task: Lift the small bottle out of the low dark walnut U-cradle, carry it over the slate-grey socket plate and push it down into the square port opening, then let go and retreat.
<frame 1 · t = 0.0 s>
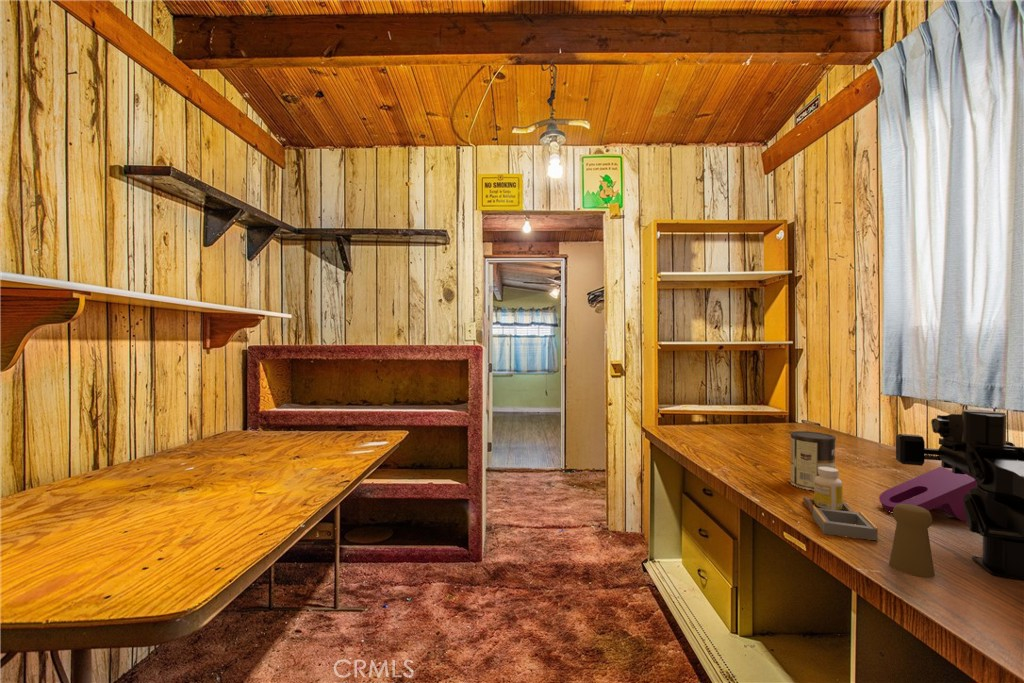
hand: (932, 444, 102), 17 cm above the table, tool horizontal, fingers open, 9 cm apart
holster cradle: (828, 510, 106), on the table
supplement bottle: (827, 511, 106), on the table
cork: (911, 569, 79), on the table
mounting bracket: (926, 514, 105), on the table
coffee can: (812, 486, 123), on the table
socket plate: (843, 528, 95), on the table
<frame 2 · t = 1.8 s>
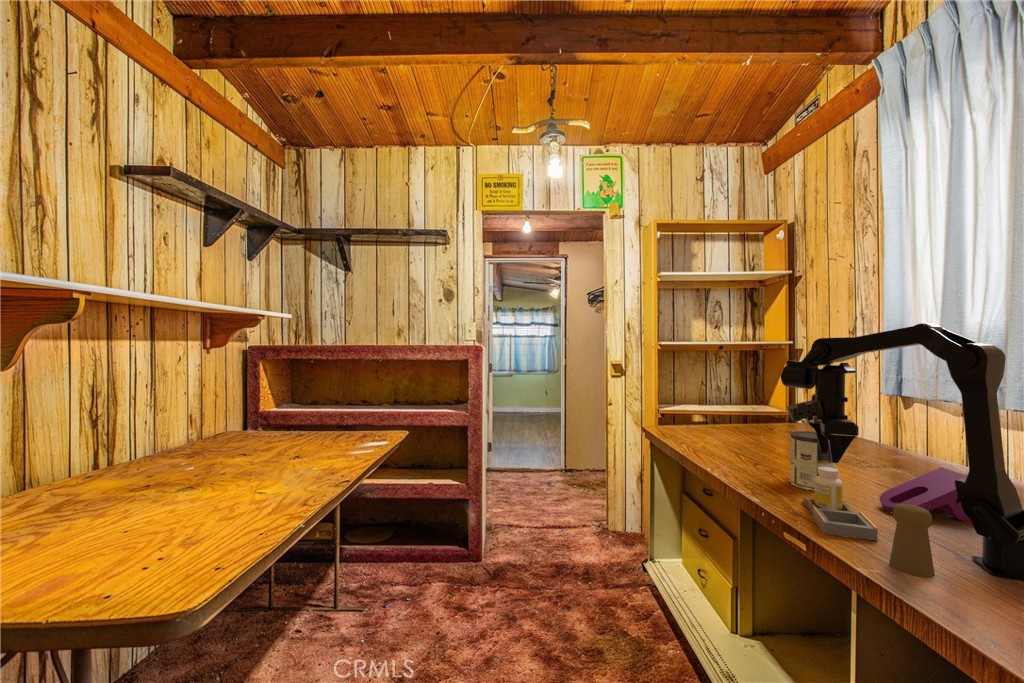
hand: (829, 457, 105), 12 cm above the table, tool pointing down, fingers open, 9 cm apart
nothing on the table moved.
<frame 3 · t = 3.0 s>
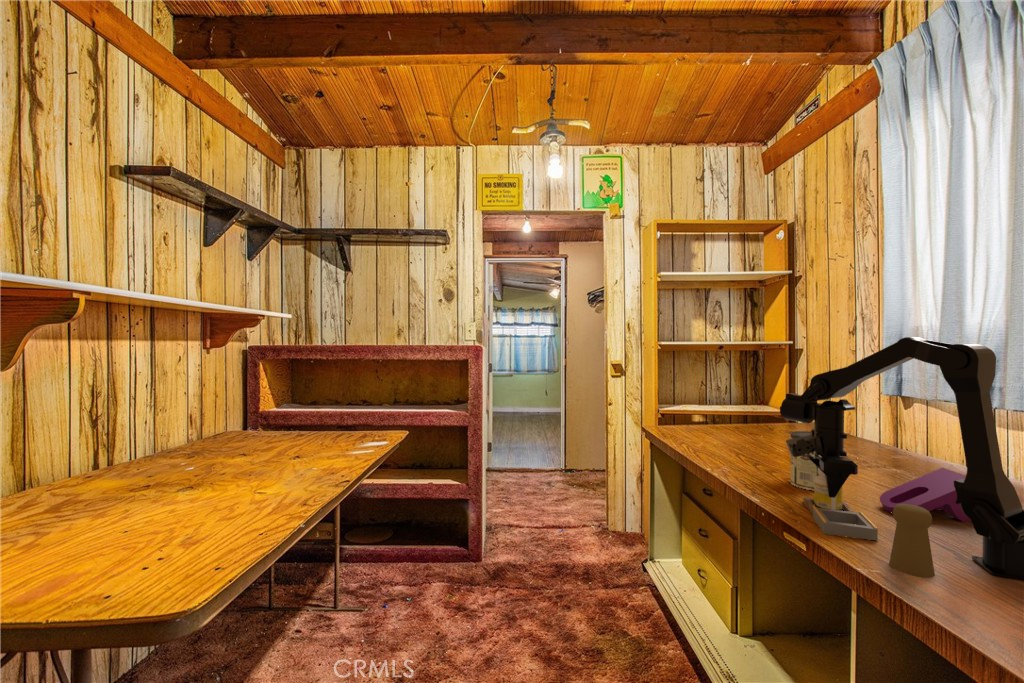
hand: (828, 493, 106), 4 cm above the table, tool pointing down, fingers closed on supplement bottle, 5 cm apart
supplement bottle: (828, 511, 106), on the table, touching gripper
everything else where it was.
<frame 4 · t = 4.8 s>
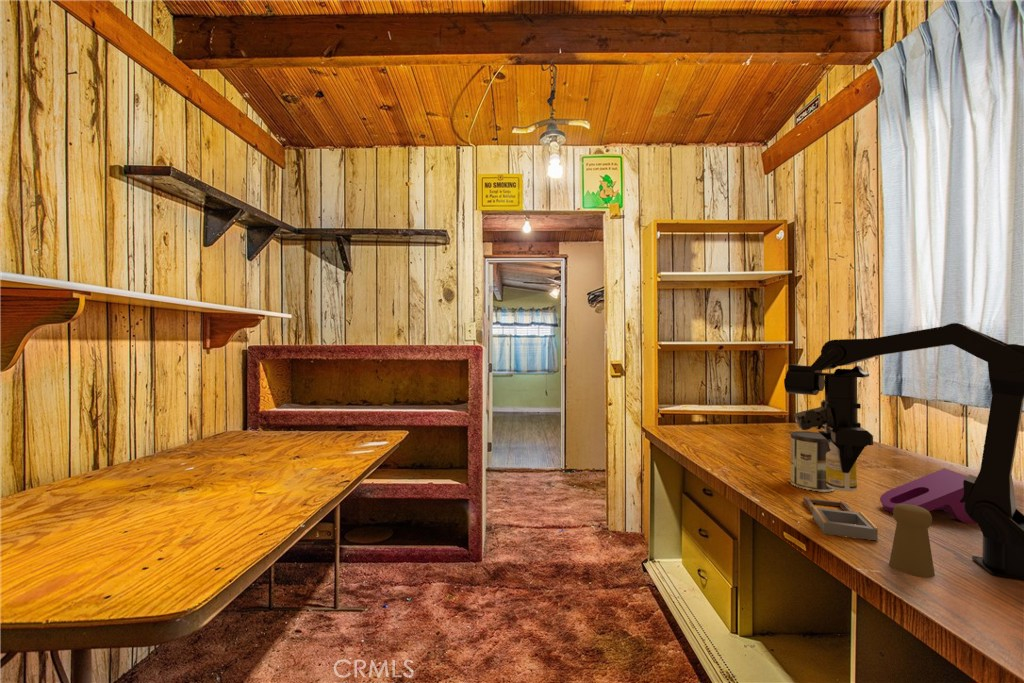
hand: (841, 469, 97), 12 cm above the table, tool pointing down, fingers closed on supplement bottle, 5 cm apart
supplement bottle: (841, 488, 98), point 8 cm above the table, touching gripper
everything else where it was.
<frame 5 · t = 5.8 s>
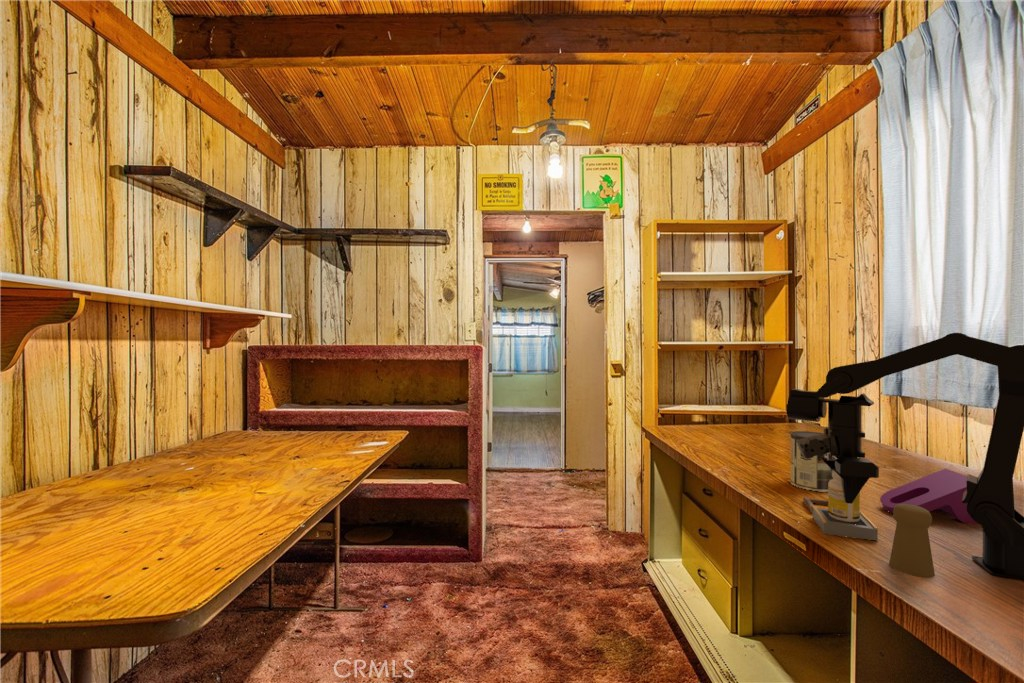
hand: (844, 498, 95), 7 cm above the table, tool pointing down, fingers closed on supplement bottle, 5 cm apart
supplement bottle: (843, 518, 95), point 2 cm above the table, touching gripper
everything else where it was.
when the fingers open (5 cm above the table, at t = 6.5 s): supplement bottle stays where it is, on the table.
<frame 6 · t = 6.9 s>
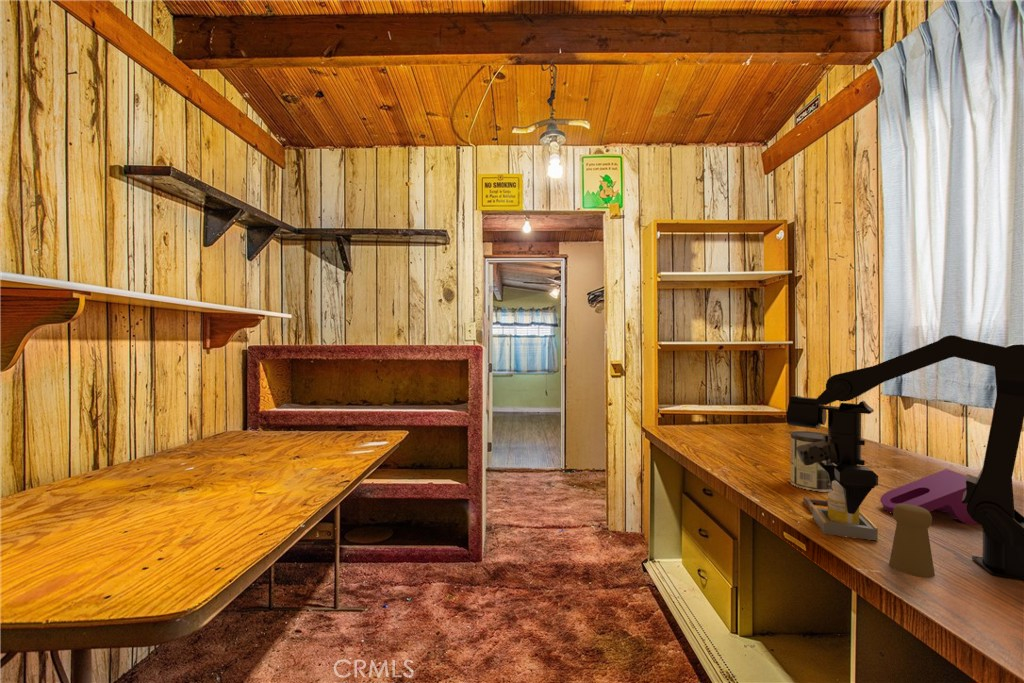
hand: (843, 505, 95), 5 cm above the table, tool pointing down, fingers open, 9 cm apart
supplement bottle: (843, 529, 95), on the table
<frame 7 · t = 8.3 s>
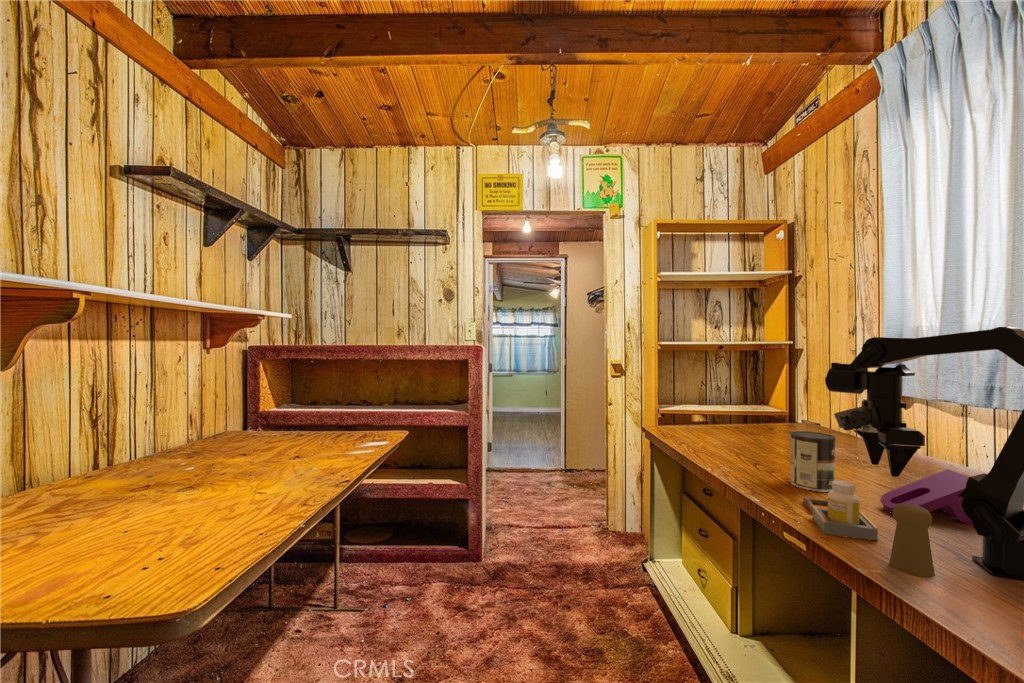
hand: (884, 470, 95), 13 cm above the table, tool pointing down, fingers open, 9 cm apart
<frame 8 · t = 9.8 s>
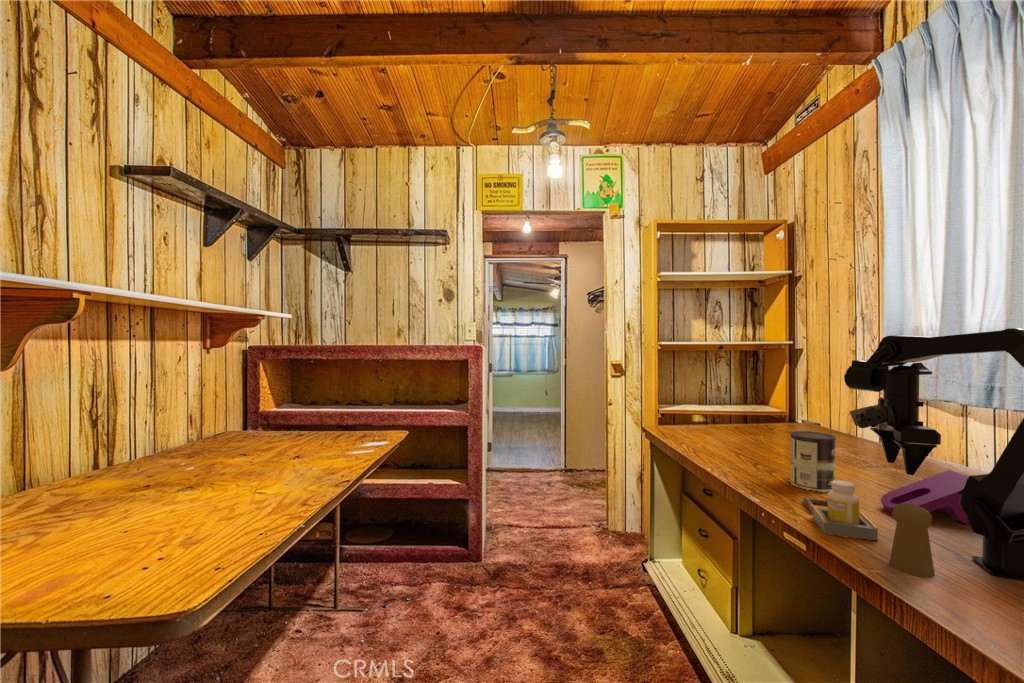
hand: (899, 468, 95), 13 cm above the table, tool pointing down, fingers open, 9 cm apart
at the end: supplement bottle 0.0 cm off-centre on the socket plate, point 0.0 cm above the socket plate's base; supplement bottle tilted 0°; the gripper is holding nothing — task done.
